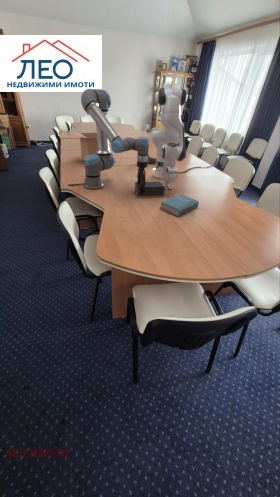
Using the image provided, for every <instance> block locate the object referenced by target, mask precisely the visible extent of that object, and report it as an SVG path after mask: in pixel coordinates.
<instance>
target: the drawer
mask: <svg viewBox="0 0 280 497" xmlns="http://www.w3.org/2000/svg"><path fill="white" fill-rule="evenodd" d="M161 184H162V185H163V186H164V190H163V196H165V195H166V191H172V188H171V187H170V185H169V186H166V185H165V184H163V183H162V182H161Z"/></svg>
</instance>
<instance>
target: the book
mask: <svg viewBox="0 0 280 497" xmlns="http://www.w3.org/2000/svg"><path fill="white" fill-rule="evenodd" d="M160 203H161V204H160V208H159V209H161V210H163V211H165V212H167V213H169V214H171V215H173V216H176V217H180V216H181V215H184V214H186V213H188V212H190V211H192V210H194V209H196V208H198V207H199V204H200V203H199V200H196V199H194V198H192V197H189V196H187V195H184V194H182V193H180V194H177V195H175V196H172V197H169V198H166V199H164V200H161V201H160Z"/></svg>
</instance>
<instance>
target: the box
mask: <svg viewBox="0 0 280 497" xmlns="http://www.w3.org/2000/svg"><path fill="white" fill-rule="evenodd" d="M70 133H71V134H72V135H74V136H75V137H77V138H79V144H80V153H81V160H83V161H84V159H85V157H86V156H87V155H90V154H97V151H98V141H97V131H95V130H92V129H91V130H77V132H76V131H70Z"/></svg>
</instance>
